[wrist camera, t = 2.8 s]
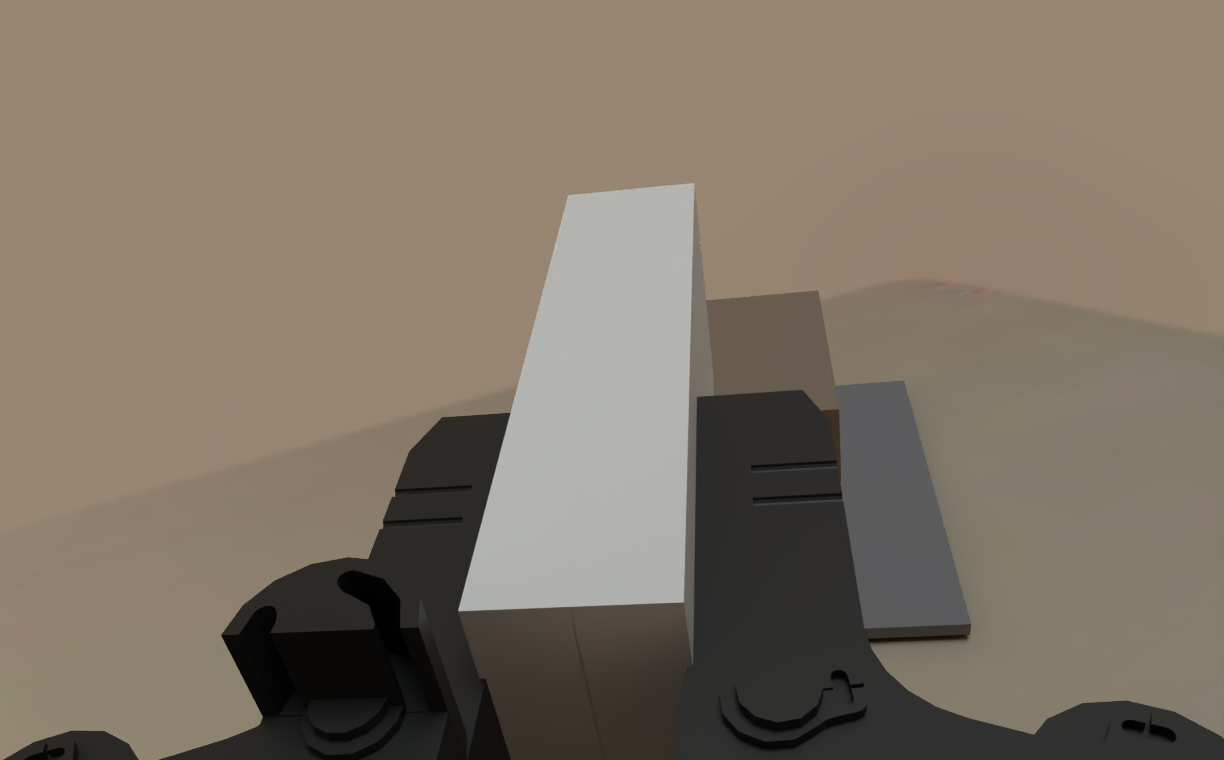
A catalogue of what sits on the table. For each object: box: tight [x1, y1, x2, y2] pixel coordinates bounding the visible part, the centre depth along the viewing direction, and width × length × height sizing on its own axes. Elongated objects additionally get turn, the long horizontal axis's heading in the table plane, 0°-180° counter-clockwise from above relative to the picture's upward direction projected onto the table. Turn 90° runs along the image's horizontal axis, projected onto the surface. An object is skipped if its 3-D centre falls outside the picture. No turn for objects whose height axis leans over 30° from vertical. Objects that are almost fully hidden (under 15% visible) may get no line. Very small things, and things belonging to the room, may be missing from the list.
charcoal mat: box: [835, 381, 971, 639], centre depth 40 cm, size 14×14×1 cm
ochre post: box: [706, 291, 842, 489], centre depth 28 cm, size 5×5×14 cm
